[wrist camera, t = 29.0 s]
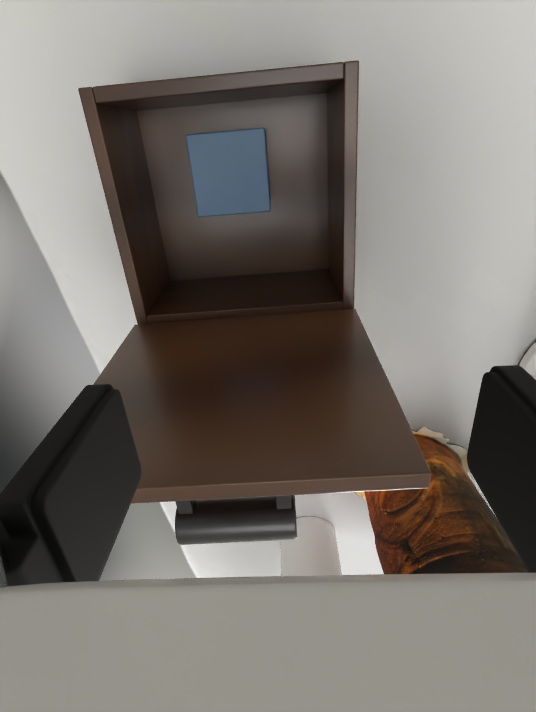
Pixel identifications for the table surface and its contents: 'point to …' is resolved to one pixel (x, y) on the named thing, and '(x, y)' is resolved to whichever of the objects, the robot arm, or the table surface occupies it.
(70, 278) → the table surface
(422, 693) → the robot arm
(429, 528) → the vessel
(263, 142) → the block
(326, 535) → the cylindrical container
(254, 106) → the chest
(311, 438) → the lid
